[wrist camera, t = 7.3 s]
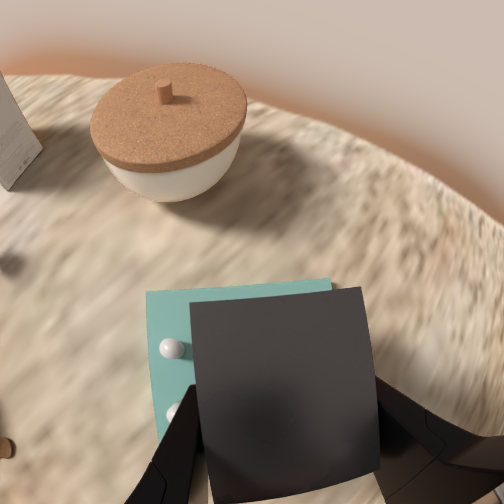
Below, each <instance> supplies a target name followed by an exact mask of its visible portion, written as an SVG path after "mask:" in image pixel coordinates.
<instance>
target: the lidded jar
mask: <svg viewBox="0 0 504 504" xmlns="http://www.w3.org/2000/svg"><path fill="white" fill-rule="evenodd" d="M246 113H247V99H246V95H245V93H244V90H243V89H242V87H241V86H240V85H239V83H238V82H237V81H236V80H235V79H233V78H232V77H231V76H230V75H228V74H226V73H225V72H223V71H221V70H219V69H216V68H213V67H210V66H206V65H201V64H194V63H173V64H164V65H159V66H155V67H152V68H148V69H145V70H142V71H139V72H137V73H135V74H133V75H131V76H129V77H127V78H125V79H124V80H122V81H120V82H119V83H117V84H116V85H115V86H114V87H112V88H111V89H110V90H109V91H108V92H107V93H106V94H105V95H104V96H103V97H102V99H101V100H100V101H99V103H98V104H97V106H96V108H95V109H94V112H93V115H92V118H91V122H90V134H91V137H92V140H93V143H94V145H95V147H96V149H97V150H98V152H99V153H100V155H101V156H102V158H103V160H104V162H105V163H106V165H107V167H108V168H109V170H110V171H111V172H112V174H113V175H114V176H115V178H116V179H117V180H118V181H119V182H120V183H121V184H122V185H123V186H124V187H126V188H127V189H128V190H129V191H131V192H132V193H134V194H136V195H138V196H140V197H142V198H145V199H148V200H152V201H157V202H178V201H183V200H187V199H190V198H193V197H195V196H197V195H199V194H201V193H203V192H205V191H207V190H208V189H210V188H211V187H212V186H214V185H215V184H216V183H217V182H218V181H219V180H220V179H221V178H222V177H223V175H224V174H225V173H226V172H227V170H228V169H229V167H230V165H231V163H232V161H233V159H234V157H235V155H236V152H237V149H238V146H239V143H240V140H241V135H242V129H243V125H244V122H245V119H246Z"/></svg>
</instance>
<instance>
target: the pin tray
mask: <svg viewBox="0 0 504 504" xmlns="http://www.w3.org/2000/svg"><path fill="white" fill-rule="evenodd" d="M328 290H332V286H331V280H330V278H324V279H314V280H303V281H292V282H281V283H269V284H257V285H244V286H231V287H216V288H201V289H184V290H166V291H146V319H147V340H148V355H149V367H150V378H151V388H152V397H153V405H154V412H155V419H156V426H157V433H158V439H159V444H160V442H161V440H162V438H163V436H164V434H165V432H166V430H167V428H168V426H169V424H170V422H171V420H172V418H173V416H174V414H175V412H176V410H177V408H178V407H179V405H180V403H181V401H182V399H183V397H184V395H185V393H186V391H187V389H188V387H189V385H191V384H196V382H195V372H194V362H193V350H192V338H191V325H190V309H189V302H203V301H219V300H233V299H246V298H258V297H269V296H280V295H290V294H300V293H310V292H319V291H328Z"/></svg>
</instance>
